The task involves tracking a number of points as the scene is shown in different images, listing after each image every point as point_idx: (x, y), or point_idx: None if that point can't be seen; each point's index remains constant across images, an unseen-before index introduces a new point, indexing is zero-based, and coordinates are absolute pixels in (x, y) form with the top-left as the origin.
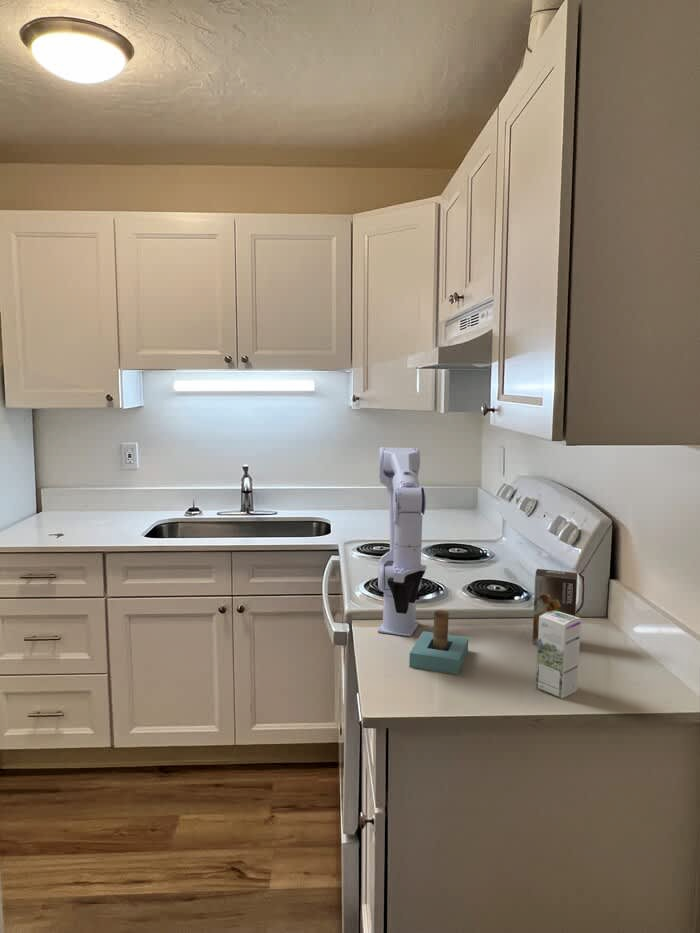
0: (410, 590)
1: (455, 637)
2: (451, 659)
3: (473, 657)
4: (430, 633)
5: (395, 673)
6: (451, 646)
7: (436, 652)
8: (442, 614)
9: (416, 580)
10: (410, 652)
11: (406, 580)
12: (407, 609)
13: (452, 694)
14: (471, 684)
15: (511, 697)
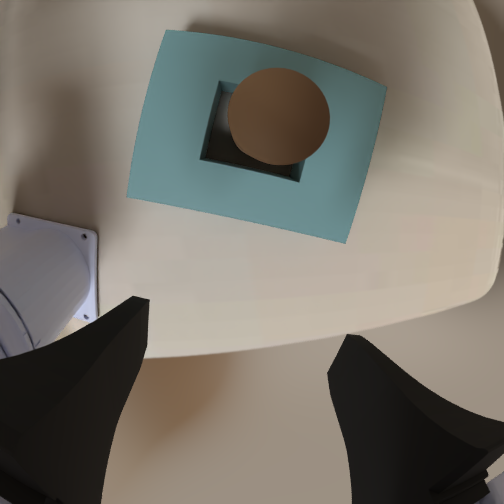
0: (478, 416)
1: (170, 71)
2: (381, 108)
3: (228, 32)
4: (142, 168)
5: (367, 264)
6: None
7: (336, 150)
8: (315, 111)
9: (81, 409)
10: (341, 241)
11: (458, 493)
12: (367, 343)
13: (455, 137)
14: (411, 77)
15: (443, 23)
